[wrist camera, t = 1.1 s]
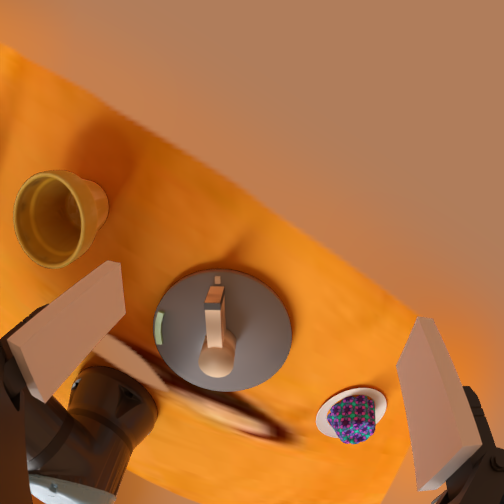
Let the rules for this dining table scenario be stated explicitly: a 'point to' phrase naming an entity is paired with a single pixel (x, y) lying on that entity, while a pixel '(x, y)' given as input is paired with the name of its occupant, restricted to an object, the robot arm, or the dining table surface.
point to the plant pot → (58, 217)
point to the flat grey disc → (237, 321)
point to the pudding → (352, 415)
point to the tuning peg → (217, 336)
